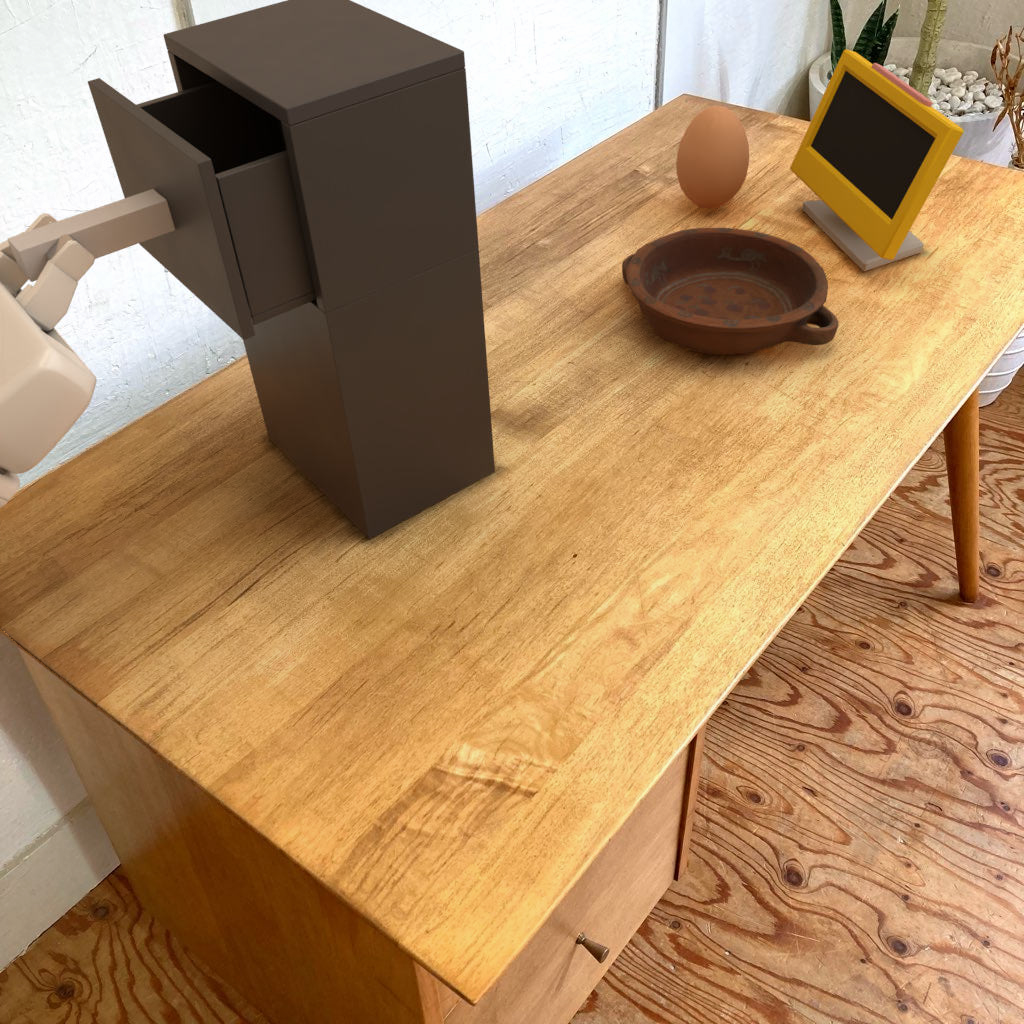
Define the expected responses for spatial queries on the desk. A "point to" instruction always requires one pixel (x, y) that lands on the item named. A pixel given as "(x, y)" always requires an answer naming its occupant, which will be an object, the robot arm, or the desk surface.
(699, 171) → the egg
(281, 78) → the cabinet
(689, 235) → the dish
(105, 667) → the desk surface
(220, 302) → the drawer
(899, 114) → the toy computer monitor
